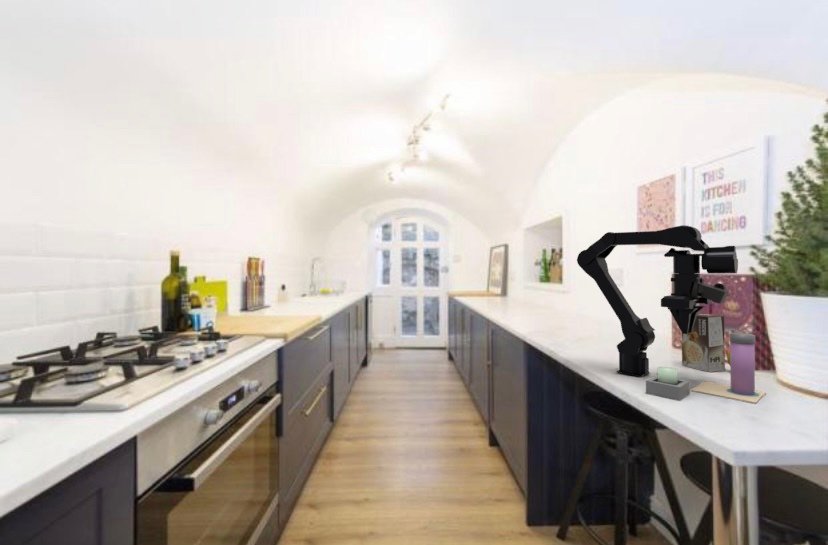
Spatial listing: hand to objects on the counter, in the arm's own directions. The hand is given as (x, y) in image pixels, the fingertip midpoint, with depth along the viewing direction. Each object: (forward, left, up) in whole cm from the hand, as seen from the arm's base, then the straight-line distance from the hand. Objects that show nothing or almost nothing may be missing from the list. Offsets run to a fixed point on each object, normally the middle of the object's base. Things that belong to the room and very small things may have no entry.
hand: (686, 333), depth 102 cm
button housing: (0, -14, -13) cm, 19 cm away
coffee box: (-2, +21, -13) cm, 25 cm away
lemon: (+6, +22, -13) cm, 26 cm away
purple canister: (+11, -1, -13) cm, 17 cm away
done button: (0, -14, -11) cm, 18 cm away
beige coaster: (+9, -2, -13) cm, 16 cm away
